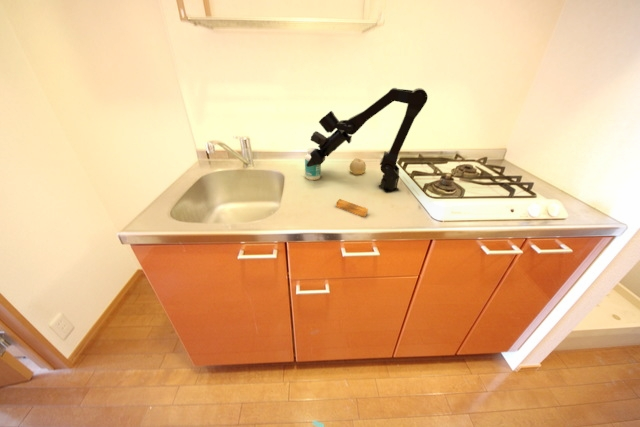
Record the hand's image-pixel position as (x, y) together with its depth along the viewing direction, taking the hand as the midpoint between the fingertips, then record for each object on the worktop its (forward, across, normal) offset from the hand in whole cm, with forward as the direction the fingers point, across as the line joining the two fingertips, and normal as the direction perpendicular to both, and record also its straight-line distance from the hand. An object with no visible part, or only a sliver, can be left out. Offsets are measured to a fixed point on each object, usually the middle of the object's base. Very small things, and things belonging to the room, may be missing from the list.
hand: (310, 162), depth 106 cm
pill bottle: (+4, 0, +6) cm, 8 cm away
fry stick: (-12, +23, +23) cm, 35 cm away
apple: (-9, -13, +20) cm, 25 cm away
